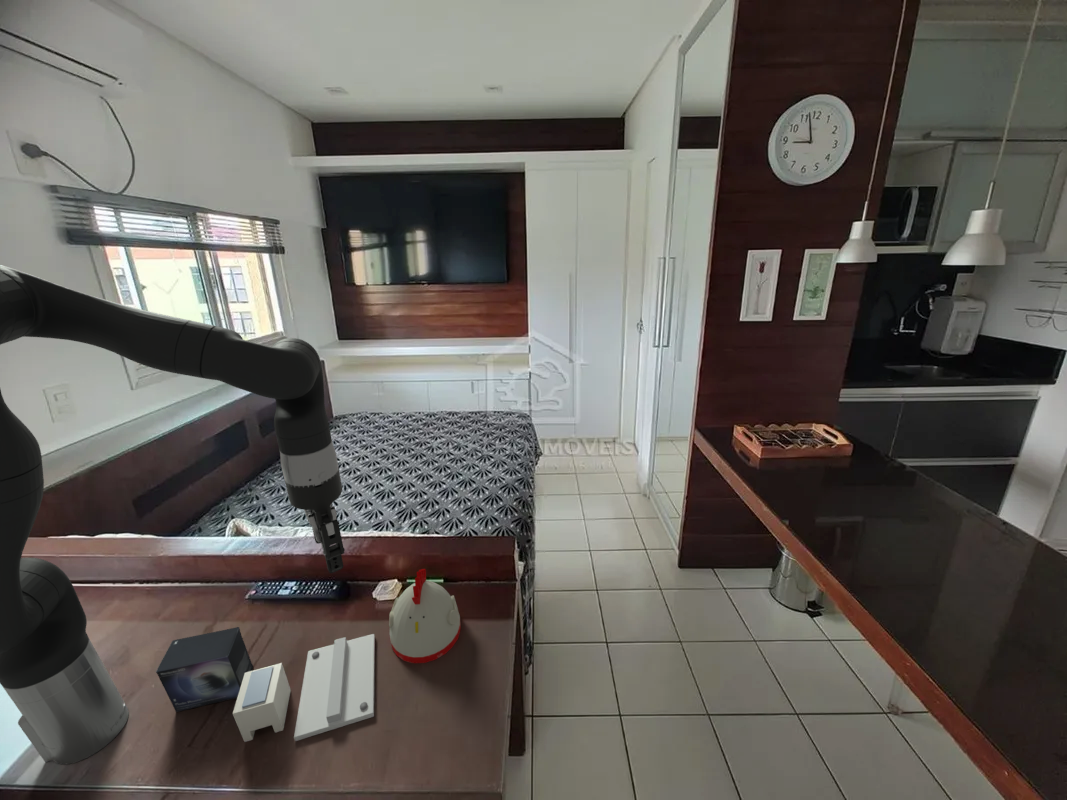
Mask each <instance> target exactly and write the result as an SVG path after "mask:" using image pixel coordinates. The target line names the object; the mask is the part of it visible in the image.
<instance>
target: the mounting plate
mask: <svg viewBox="0 0 1067 800" xmlns="http://www.w3.org/2000/svg"><path fill="white" fill-rule="evenodd" d="M375 639H376V637H375V633H372V634H367V635H362V636H360V637H356V638H352V639H349V640H348V639H347V637H346V636H345V637H340V638H337V639H334V643H332V644H329V645H326V646H322V647H319V648H315V649H311V650H308V651H307V656H306V663H305V669H304V674H303V680H302V685H301V686H302V687H301V692H300V699H299V705H298V709H297V717H296V723H295V728H294V734H293V735H294V736H293V740H294V741H295V742H297V741H301V740H305V739H307V738H310V737H313V736H317V735H319V734H323V733H325V732H328V731H333V730H336V729H339V728H342V727H344V726H349V725H352V724H355V723H357V722H361V721H364V720H367V719H370V718H373V717H375V664H376V663H375V659H376V658H375V657H376V656H375V654H376V651H375V649H376V648H375V647H376V645H375V644H376V642H375V641H376V640H375Z"/></svg>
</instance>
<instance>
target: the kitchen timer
mask: <svg viewBox="0 0 1067 800" xmlns="http://www.w3.org/2000/svg"><path fill="white" fill-rule="evenodd" d="M388 617H389V619H388V627H389V631H388V632H389V640H390V645H391V649H392V651H393V652H394V653H395V654H394V655H396V656H397V657H398V658H400V659H401V660H402V661H404V662H407V663H410V664H426V663H429V662H433V661H435V660H437V659H439V658H441V657H442V656H445V655H446V654H447V653H448V652H449V651H450V650H451V649H452V648H453V647H454V646H455V644H456V643H457V641H458V639H459V637H460V634H461V630H462V629H461V616H460V613H459V608H458V605H457V602H456V598H455V595H451V594H450V593H449V592H448V591H447V590H446V589H445V588H444V587H443V586H442V585H440V584H438V583H436V582H435V581H429V580H427V569H426V568H421V569H418V571H416V577H414V582H413V583H412V584H411V585H409V586H408V587H406V589H405V590H403V592H402V593H401V594H400V596H399V597H396V598H395V599H394V603H393V605H392V608H391V611H390V612H389V616H388Z"/></svg>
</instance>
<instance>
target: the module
mask: <svg viewBox="0 0 1067 800" xmlns="http://www.w3.org/2000/svg"><path fill="white" fill-rule="evenodd" d="M291 690H292V689H291V687H290V684H289V680H288V677H287V674H286V672H285V668H284V665H283V662H280V663H275V664H273V665H269V666H265V667H261V668H257V669H254V670H253V669H252V671H249V672H246V673H245V674H244V677H243V681H242V684H241V687H240V691H239V694H238V697H237V698H236V701H235V704H234V707H233V711H232V716H233V718H234V720H235V723H236V726H237V727H238V730H239V733H240V736H241V737H242V740H243V741H244V743H247V742H250V741H252V740H254V736H255V732H256V731H257V730H259V729H263V728H267V727H270V726H272V728H273V729H272V730H273V731H274V733H278V732H281V731H284V728H285V723H286V718H287V714H288V713H287V711H288V707H289V706H288V705H289V702H290V701H289V700H290V696H291Z"/></svg>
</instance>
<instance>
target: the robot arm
mask: <svg viewBox="0 0 1067 800" xmlns="http://www.w3.org/2000/svg"><path fill="white" fill-rule="evenodd" d="M23 337H27V338H28V337H29V338H45V339H56V340H64V341H72V342H78V343H82V344H87V345H91V346H93V347H98V348H100V349H105V350H107V351H109V352H113V353H114V354H117V355H119V356H121V357H123V358H126V359H127V360H130V361H132V362H135V363H137V364H140V365H143V366H145V367H148V368H152V369H155V370H159V371H164V372H168V373H172V374H177V375H183V376H189V377H195V378H200V379H207V380H212V381H220V382H222V383H225V384H227V385H229V386H232V387H234V388H237V389H240V390H241V391H242V390H243V391H246V392H247V393H252V394H255V395H257V396H261V397H265V398H269V399H274V400H275V404H276V405H275V406H276V407H275V413H274V419H273V427H274V432H275V436H276V441H277V446H278V449H279V455H280V458H279V459H280V466H281V470H282V474H283V478H284V484H285V488H286V492H287V495H288V500H289V503H290V505H291V506H293V507H294V508H296V509H298V510H303V511H304V514H305V517H306V520H307V522H308V523H309V526H311V528H312V529H311V530H312V533H313V537H314V541H315V543H316V544H318V545H319V544H321V548H322V554H323V555H324V559H325V563H326V568H327V572H328V573H329V574H334V573H337V572H339V571H340V570H342V569H343V568H344V562H343V561H344V560H343V557H342V555H344V554H345V547H344V545H343V544H344V543H343V539H342V533H341V529H340V522H339V520H338V519H337V509H336V508H335V505H333V503H334V502H335V501H337V500H338V499H339V497H340V496H341V495H342V493H343V483H342V479H341V474H340V468H339V463H338V456H337V451H336V448H335V446H334V444H333V440H332V434H331V428H330V424H329V418H328V416H327V412H326V411H327V410H326V406H325V405H326V404H325V388H324V387H325V386H324V375H323V368H322V362H321V359H320V356H319V354H318V352H317V350H316V349H315V348H314V347H313V345H311V344H310V343H309V342H307V341H305V340H304V339H300V338H295V337H290V338H289V337H288V338H283V339H280V340H278V341H276V342H275V343H274V344H273V345H271V346H268V345H265V344H264V345H263V344H260V343H256V342H253V341H249V340H245V339H243V337H242V335H241V334H239V332H237V331H235V330H232V329H229V328H225V327H222V326H216V325H212V324H208V323H205V322H200V321H194V320H190V319H184V318H180V317H176V316H171V315H167V314H162V313H158V312H154V311H148V310H145V309H141V308H138V307H134V306H133V307H132V306H129V305H125V304H122V303H118V302H114V301H111V300H107V299H104V298H100V297H97V296H94V295H91V294H88V293H85V292H82V291H79V290H75V289H72V288H70V287H66V286H64V285H62V284H57V283H54V282H52V281H49V280H47V279H44V278H41V277H38V276H35V275H33V274H30V273H27V272H24V271H22V270H19V269H15V268H12V267H9V266H7V265H2V264H0V346H1V345H3V344H6V343H10V342H12V341H15V340H19V339H20V338H23ZM42 459H43V457H42V451H41V447H40V443H39V442H38V440H37V438H36V437H35V435H34V434H33V432H32V431H31V430H30V429H29V428H28V427H27V426H26V424H24V422H22V420H21V419H20V418H19V417H18V416H17V415H16V414H15V413H14V412H13V411H12V410H11V409H10V408H9V406H8V405H7V403H6V402H5V399H4V397H3V394H2V390H1V388H0V686H1V687H2V688H3V690H4V691H5V692H6V694H7V695H8V696H9V698H10V699H11V701H12V702H13V704H14V705H15V707H16V708H17V709H18V711H19V712H20V713H21V716H20V718H19V719H18V722H17V724H18V726H19V728H20V729H21V731H23V733H24V734H25V736H26V737H27V739H28V740H29V742H30V743H31V744H32V746H33V748H34V749H35V750H36V752H37V753H38V755H40V757H41V758H42V760H43V761H44V762H45V763H48V762H51V761H52V762H53V761H54V762H55V763H57V764H60V765H70V764H73V763H78V762H80V761H83V760H85V759H88V758H89V757H91V756H93V755H95V754H97V752H99V751H100V750H102V749H104V748H105V747H106V746H107V745H109V743H110V742H112V741H114V739H115V737H117V736H118V734H119V733H120V732H121V731H122V730H123V728H124V727H125V725H126V723H127V722H128V720H129V719H128V718H129V713H130V711H129V708H128V706H127V704H126V703H125V701H124V699H123V696H122V695H121V694H120V691H119V689H118V687H117V686H116V684H115V682H114V680H113V679H112V677H111V676H110V674H109V672H108V670H107V668H106V666H105V664H104V662H103V660H102V659H101V657H100V655H99V654H98V651H97V650H96V648H95V646H94V645H93V642H92V640H91V639H90V637H89V635H88V633H87V631H86V630H87V616H86V612H85V610H84V608H83V606H82V604H81V601H80V598H79V596H78V594H77V592H76V589H75V587H74V585H73V583H72V582H71V579H70V578H69V577H68V575H67V574H66V573H65V571H63V569H61V568H60V567H59V566H57V565H55V564H54V563H52V562H50V561H48V560H45V559H42V558H37V557H22V556H23V552H24V549H25V546H26V544H27V541H28V538H29V537H30V533H32V532H31V531H32V528H33V527H34V524H35V521H36V519H37V516H38V513H39V511H40V508H41V504H42V501H43V497H44V487H45V479H44V471H43V469H44V468H43V460H42Z"/></svg>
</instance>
